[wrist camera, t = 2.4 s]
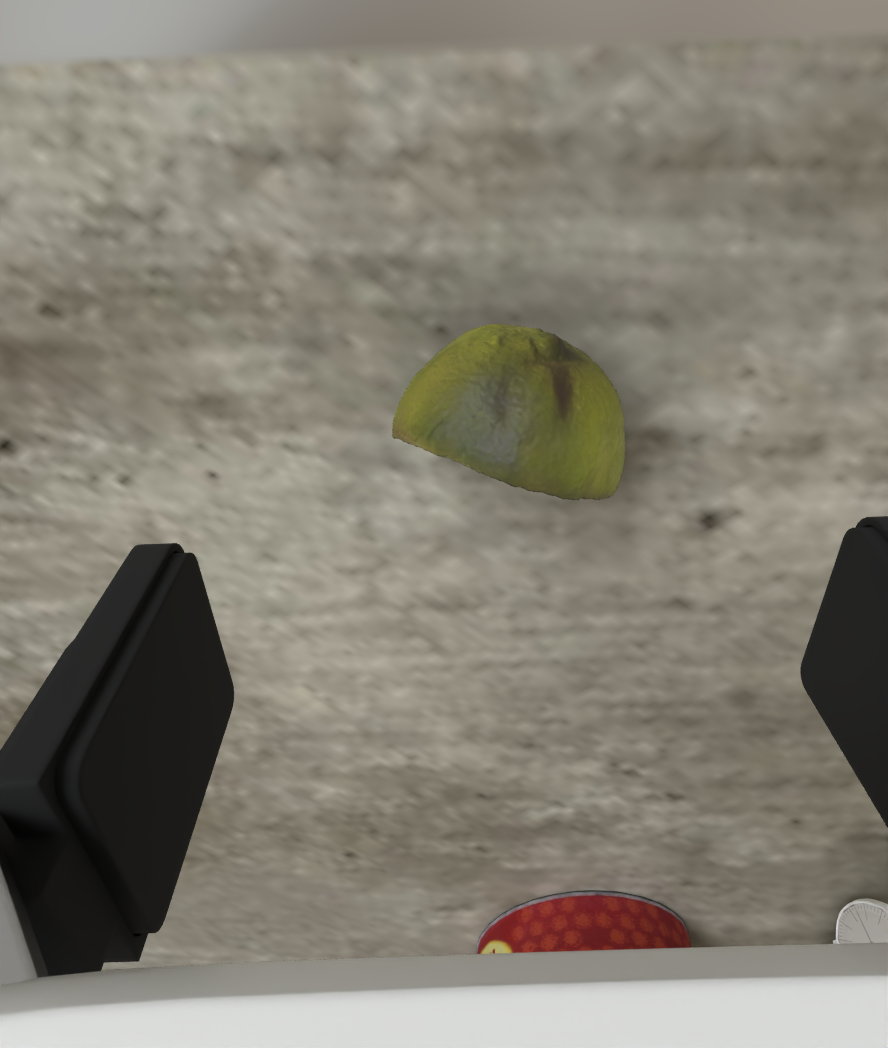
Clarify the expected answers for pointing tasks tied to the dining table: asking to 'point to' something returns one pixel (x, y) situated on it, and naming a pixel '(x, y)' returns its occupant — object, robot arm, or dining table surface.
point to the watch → (862, 922)
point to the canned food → (584, 925)
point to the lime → (519, 412)
